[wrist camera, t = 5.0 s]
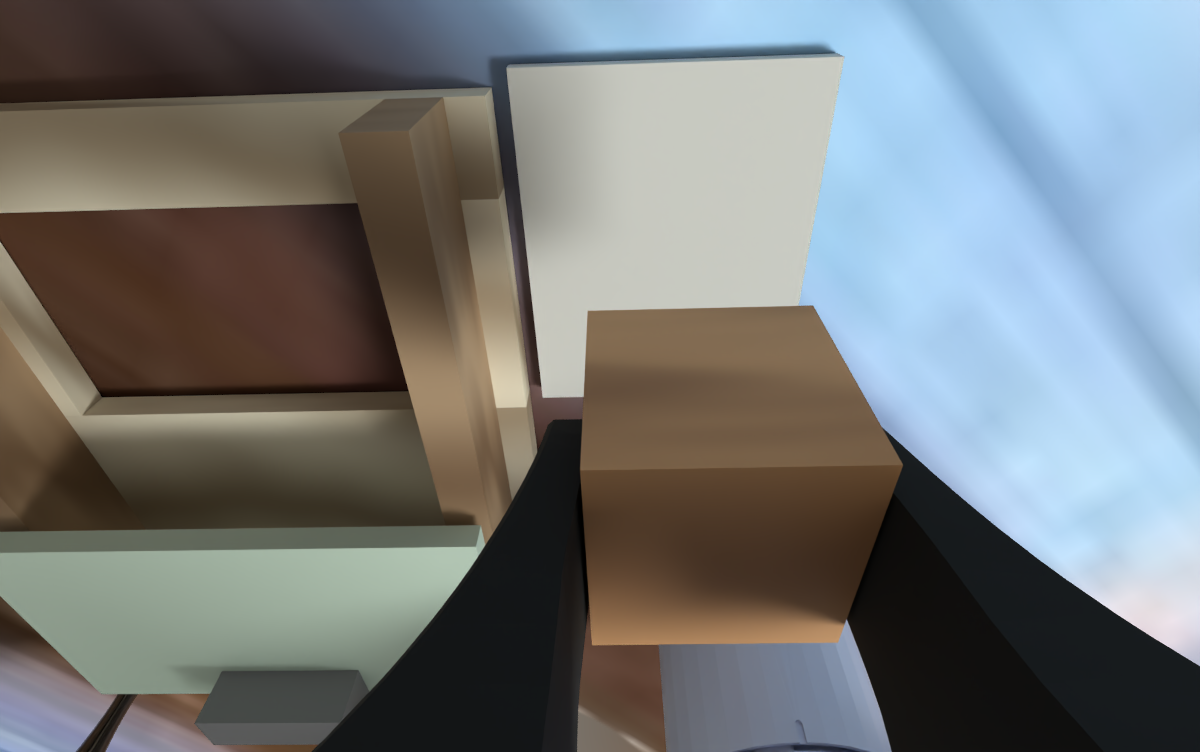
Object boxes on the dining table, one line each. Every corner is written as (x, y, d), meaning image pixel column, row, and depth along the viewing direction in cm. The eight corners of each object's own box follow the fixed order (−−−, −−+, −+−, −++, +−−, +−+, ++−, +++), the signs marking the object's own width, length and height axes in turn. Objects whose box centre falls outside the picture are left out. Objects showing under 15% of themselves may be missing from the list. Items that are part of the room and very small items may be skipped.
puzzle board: (553, 576, 27) (545, 666, 24) (156, 581, 27) (94, 670, 24) (491, 87, 15) (459, 129, 12) (-201, 110, 16) (-420, 156, 12)
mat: (778, 383, 20) (782, 393, 20) (544, 388, 21) (542, 397, 20) (837, 53, 15) (844, 56, 14) (508, 64, 15) (506, 68, 14)
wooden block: (780, 468, 13) (838, 642, 10) (595, 471, 13) (592, 645, 10) (812, 305, 11) (902, 464, 7) (587, 310, 11) (580, 471, 8)
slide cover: (513, 670, 23) (503, 743, 21) (115, 673, 24) (67, 745, 21) (480, 525, 18) (464, 601, 16) (-21, 532, 19) (-102, 607, 17)
